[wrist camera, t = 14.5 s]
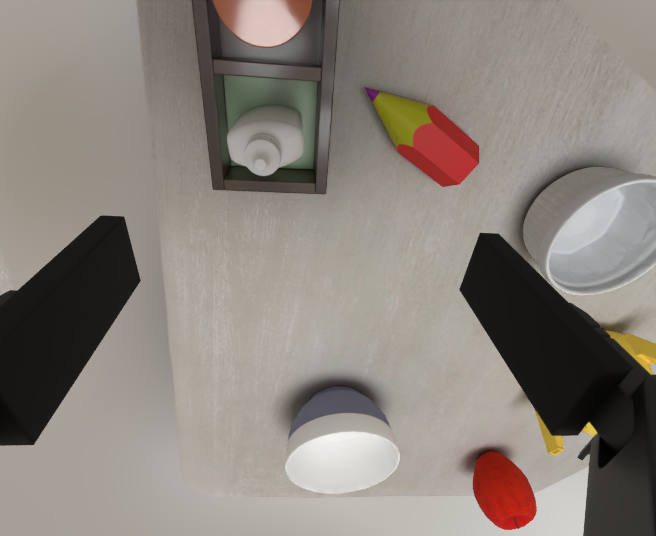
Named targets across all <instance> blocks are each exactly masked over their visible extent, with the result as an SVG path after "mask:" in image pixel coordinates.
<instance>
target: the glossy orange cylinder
mask: <svg viewBox="0 0 656 536" xmlns="http://www.w3.org/2000/svg"><path fill="white" fill-rule="evenodd" d="M212 1H213V3H214V6H215V9H216V11H217V13H218V15H219V17H220V18H221V20H222V21H223V23H224V24H225V25H226V27H227V28H228V29H229V30H230V31H231V32H232V33H233V34H234V35H235V36H236V37H237V38H239V39H240V40H242V41H243V42H245V43H247V44H249V45H252V46H255V47H260V48H273V47H278V46H281V45H284V44H286V43H288V42H290V41H291V40H293V39H294V38H295V37H296V36H297V35H298V34H299V33H300V31H301V30H302V28H303V26H304V24H305V23H306V20H307V18H308V16H309V13H310V10H311V5H312V0H212Z"/></svg>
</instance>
